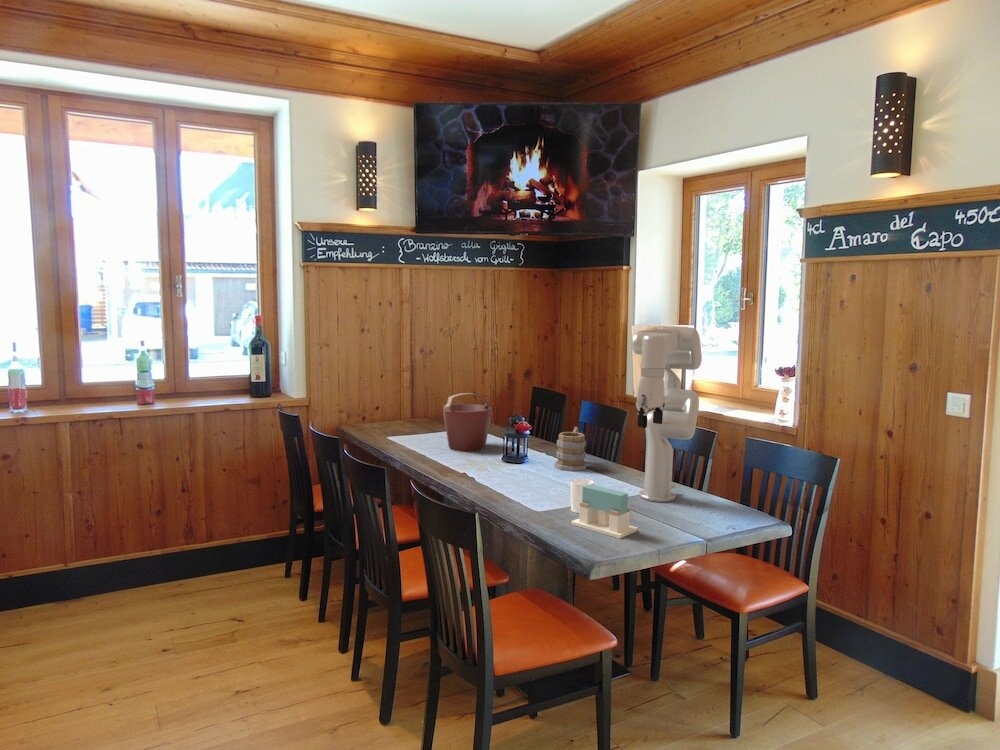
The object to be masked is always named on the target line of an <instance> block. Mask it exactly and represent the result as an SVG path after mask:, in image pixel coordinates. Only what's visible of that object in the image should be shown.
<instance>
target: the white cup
mask: <svg viewBox="0 0 1000 750" xmlns="http://www.w3.org/2000/svg"><path fill="white" fill-rule="evenodd" d="M589 484H591V485H595V481H594V480H591V479H587V478H574V479H571V480H570V486H569V487H570V511H571V512H573V513H575V514H579V513H580V502H582V494H583V486H586V485H589Z"/></svg>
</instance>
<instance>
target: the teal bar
mask: <svg viewBox="0 0 1000 750" xmlns="http://www.w3.org/2000/svg"><path fill="white" fill-rule="evenodd" d="M628 498H629V493H628V492H623V491H619V490H614V489H611V488H608V487H607V488H606V487H602V486H599V485H595V484H594V485H591V484H589V485H586V486H583V494H582V502H583V503H587V504H589V507H591V508H595V509H598V510H602V511H606V512H610V510H613V511H617V512H620V513H619V515H622V514H624V513H627V507H628V500H629V499H628Z"/></svg>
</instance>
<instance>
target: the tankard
mask: <svg viewBox="0 0 1000 750" xmlns="http://www.w3.org/2000/svg"><path fill="white" fill-rule="evenodd" d="M585 435H586V434H584V433H581V432H579V427H578V426H574V429H573V430H572V431H563V432H560V433H559V434H558V439H557V440H556V446H557V450H556V452H555V454H556V456H555V457H556V458H557V460H556V461H555V462H554V468H556V469H557V470H561V471H568V472H579V471H584V470H585V469H587V467H588V464H587V463H586V462H585V461H584V460H585V458H586V454H587V453H586V451H585V447H586V445H587V440H585Z"/></svg>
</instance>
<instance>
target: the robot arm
mask: <svg viewBox="0 0 1000 750" xmlns="http://www.w3.org/2000/svg"><path fill="white" fill-rule="evenodd" d="M631 339H632V340H631V349H632V352H634V354H635V355H640V356H641V363H640V364H641V365H640V378H639V381H638V385H637V387H638V388H637V393H636V394H637V395H636V402H635V407H636V409H635V410H636V412H637V413H636V414H637V428H643V429H645V439H646V441H645V443H646V444H645V465H644V485H643V489H642V490H640V491H639V495H638V496H639V497H640V498H642V499H643V500H646V501H650V502H659V503H665V502H667V503H668V502H672V501H675V499H676V494H675V493H673V492H672V490H673V489H674V488H676V484H675V482H672V479H673V463H674V462H673V461H674V449H673V446H672V444H671V443H670V441H669V440H668V439H677V440H691V439H692V438H693V437H694V435H695V433H696V428H697V422H698V421H697V420H698V415H699V408H700V398H699V395H698V393H697V392H696V391H694V390H691V389H682V388H681V387H682V381H681V380H680V378H679V376H678V375H677V374H676V373H675V372H674V371H673V370H672V369H675V370H689V371H690V370H691V371H693V370H694V371H695V370H697V369H699V368H700V366H701V365H702V360H703V359H702V358H703V357H702V355H703V354H702V345H701V338H700V334H699V332H698V331H697V329H696V328H694V327H686V326H685V327H684V326H683V327H682V326H667V327H664V328H658V329H646V330H639V331H637V332H635V333H634V334H633V336H632V338H631ZM652 409H654V410H652ZM649 410H651V411H649Z"/></svg>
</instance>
